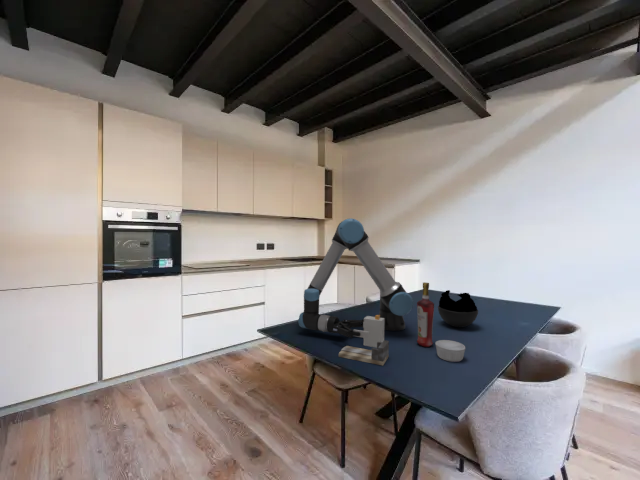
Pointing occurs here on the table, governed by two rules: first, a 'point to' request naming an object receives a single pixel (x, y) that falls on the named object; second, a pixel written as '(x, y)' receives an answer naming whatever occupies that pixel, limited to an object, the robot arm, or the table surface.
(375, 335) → the module
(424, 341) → the liquor
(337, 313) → the table surface
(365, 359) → the rail board
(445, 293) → the coal bowl
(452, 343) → the ramekin
